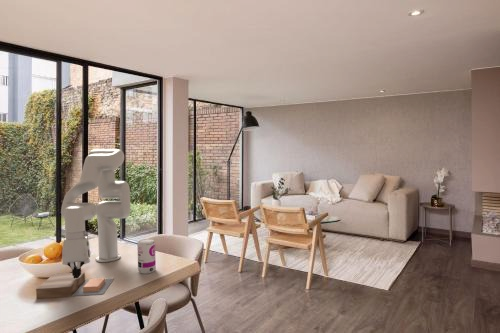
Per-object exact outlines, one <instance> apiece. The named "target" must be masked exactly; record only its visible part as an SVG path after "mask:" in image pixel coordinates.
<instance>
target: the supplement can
mask: <svg viewBox="0 0 500 333" xmlns="http://www.w3.org/2000/svg"><path fill="white" fill-rule="evenodd" d="M156 262H157V261H156V243H155V240H154V239H153V238H144V239H140V240H138V243H137V271H138V273H139V274H144V275H145V274H146V275H148V274H151V273H154V272H155V270H156V269H157V267H156V266H157V264H156Z"/></svg>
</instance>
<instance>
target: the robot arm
mask: <svg viewBox="0 0 500 333" xmlns="http://www.w3.org/2000/svg"><path fill="white" fill-rule="evenodd" d="M124 153H125V152H124V151H123V150H122V149H120V148H119V149H117V148H115V149H114V148H112V149H111V148H110V149H109V148H107V149H105V148H100V149H99V148H97V149H91V150H90V151H89V152H88V155H87V156H86V157H85V159H84V163H83V166H82V170H81V174H80V178H79V181H78V182H76V183H75V184H74V185H72V187H71V188H70V189H69V190H68V191H67V192H66V193H65V195H64V198H63V201H62V204H61V207H60V208H61V209H60V214H61V217H62V218H63V219H64V231H65V232H64V233H65V234H64V236H65V238H63V242H62V248H61V249H62V251H61V260H62V263H61V264H62V265H64V266H68V267H69V268H70V269H71V273H72V276H73V277H74V278H78V277H79V276H80V275H81V272H82V267H83V266H84V265H86V264H90V262H91V260H90V258H91V249H90V248H91V247H90V242H89V237H88V236H89V235H90V234H89V231H87V230H86V221H89V220H92V219H94V218H95V217H96V221H97V232H98V233H97V236H98V237H97V240H98V244H97V245H98V255H97V256H96V257H95V261H96V262H98V263H111V262H115V261H118V260H119V259H121V258H122V255H121V253H118V252H119V251H118V250H119V249H118V247H119V246H118V226H117V223H116V222H115V220H114V219H118V220H119V219H126V218H127V219H128V218H129V216H130V214H131V192H130V191H131V188H130V185H129V183H128V182H127V181H126V180H116V173H115V172H116V170H118V168H119V167H121V166H122V165H123V163H124V161H125V154H124ZM95 189H97V192H98V196H99V197H100V198H101V199H105V200H103V201H102V200H101V201H100V202H98V203H97V204H95V203H93V202H75V201H76V199H77V198H79V197H80V196H81V195H83V194H85V193H88V192H90V191H92V190H95ZM107 199H109V200H107ZM111 199H118V200H111Z"/></svg>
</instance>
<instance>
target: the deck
mask: <svg viewBox="0 0 500 333" xmlns="http://www.w3.org/2000/svg"><path fill="white" fill-rule="evenodd" d="M85 274H86V273H85V271H81V275H80V276H79V277H78V278H74V277H73V276H72V272H63V273H53V274H52V275H51V276H49V277H48V278H47V279H46V280H45V281H44V282H42V283H41V284H40V285H39V286H38V287H36V289H35V292H36V294H35V295H36V299H47V298H49V299H51V298H64V297H65V298H66V297H69V298H70V297H73V296H72V295H73V294H74V293H75V292H76V291H77V290H78V289H79V287H80V286H81V285H82V284H83V283H84V282H85V281H86V275H85Z"/></svg>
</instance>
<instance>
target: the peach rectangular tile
mask: <svg viewBox="0 0 500 333" xmlns="http://www.w3.org/2000/svg"><path fill="white" fill-rule="evenodd" d="M105 279H106V277H99V278H98V277H97V278H96V277H94V278H90V279H88V280H89V281H88V282H87V283H86V284H85V286H84V287H83V292H88V291H99V289H100V288H101V287H102V286H103V284H104V283H105Z"/></svg>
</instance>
